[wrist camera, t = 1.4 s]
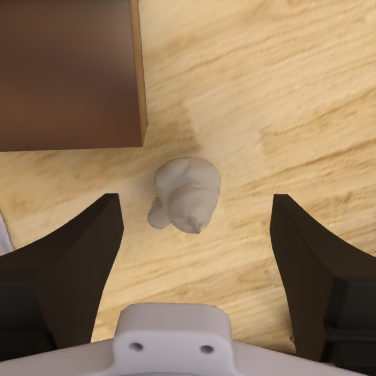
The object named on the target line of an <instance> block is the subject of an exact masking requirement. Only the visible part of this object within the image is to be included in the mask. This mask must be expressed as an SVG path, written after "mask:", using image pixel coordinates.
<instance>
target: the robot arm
mask: <svg viewBox="0 0 376 376" xmlns="http://www.w3.org/2000/svg"><path fill="white" fill-rule="evenodd" d="M123 231H124V225H123V219H122V213H121V207H120V201H119V194H118V193H106V194H104V195H103V196H101V197H100V198H99V199H98V200H96V201H95V202H94V203H93V204H91V205H90V206H89V207H88V208H86V209H85V210H84V211H83V212H81V213H80V214H79V215H77V216H76V217H74V218H73V219H72V220H70V221H69V222H67V223H66V224H65V225H63V226H62V227H60V228H59V229H57V230H55V231H54V232H52V233H50V234H48V235H47V236H45V237H43V238H41V239H39V240H37V241H35V242H33V243H31V244H29V245H27V246H24V247H22V248H20V249H17V250H15V251H14V250H13V247H12V244H11V241H10V238H9V235H8V232H7V229H6V226H5V223H4V220H3V217H2V215H1V213H0V376H376V257H374V256H371V255H369V254H367V253H365V252H363V251H361V250H360V249H358V248H356V247H354V246H352V245H350V244H349V243H347V242H345V241H344V240H342V239H341V238H339V237H338V236H336V235H334V234H333V233H332V232H330V231H329V230H327V229H326V228H325V227H324V226H322V225H321V224H320V223H318V222H317V221H316V220H315V219H314V218H313V217H311V216H310V215H309V214H308V213H307V212H306V211H305V210H304V209H303V208H302V207H301V206H299V205H298V204H297V203H296V202H295V201H294V200H293V199H292V198H291V197H290V196H289V195H288V194H274V198H273V206H272V215H271V223H270V236H271V243H272V249H273V252H274V255H275V259H276V262H277V265H278V269H279V272H280V275H281V279H282V282H283V285H284V288H285V292H286V296H287V301H288V307H289V312H290V317H291V323H292V329H293V335H294V342H295V348H296V355H297V357H296V356H292V355H288V354H285V353H281V352H277V351H273V350H269V349H266V348H262V347H258V346H254V345H250V344H247V343H243V342H239V341H235V340H232V333H231V322H230V320H229V317H228V314H226V313H225V312H224V311H222V310H221V309H219V308H218V307H216V306H211V305H206V304H183V303H145V302H143V303H137V304H131V305H129V306H127V307H126V308H125V309H123V310H122V311H121V313H120V316H119V320H118V324H117V327H116V331H115V334H114V338H112V339H107V340H102V341H98V342H93V343H90V342H91V337H92V332H93V328H94V324H95V320H96V315H97V311H98V308H99V304H100V300H101V296H102V292H103V289H104V287H105V284H106V281H107V279H108V276H109V273H110V271H111V268H112V266H113V263H114V261H115V258H116V256H117V253H118V250H119V248H120V244H121V240H122V236H123Z"/></svg>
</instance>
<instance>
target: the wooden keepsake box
mask: <svg viewBox="0 0 376 376" xmlns="http://www.w3.org/2000/svg"><path fill="white" fill-rule="evenodd" d="M147 125H148V121H147V109H146V96H145V83H144V70H143V58H142V45H141V32H140V20H139V7H138V0H0V152H8V151H37V150H66V149H95V148H124V147H143V143H144V138H145V134H146V129H147Z"/></svg>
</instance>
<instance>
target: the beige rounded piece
mask: <svg viewBox="0 0 376 376" xmlns="http://www.w3.org/2000/svg"><path fill="white" fill-rule="evenodd" d="M220 182H221V177H220V173H219V171H218V169H217V168H216V167H215V166H214V165H213V164H212V163H211V162H209V161H207V160H205V159H200V158H194V157H187V158H184V159H174V160H171V161H169V162H167V163H166V164H165V165H163V166H162V167H161V168H159V169H158V170H157V171H156V173H155V176H154V185H155V188H156V192H157V194H158V197H156V198H155V199H154V200H153V203H152V207H151V209H150V211H149V213H148V222H149V224H150V225H151V226H152V227H154V228H156V229H162V228H164V227H166V226H167V225H168V224H169V223H172V224H173V225H174V226H175V227H176V228H178V229H179V230H181V231H183V232H186V233H191V234H199V233H200V232H201V231H202V229H203V228H205V227H206V226H207V225H208V223H209V222H210V220H211V217H212V214H213V212H214V210H215V207H216V204H217V200H218V196H219V190H220Z"/></svg>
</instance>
